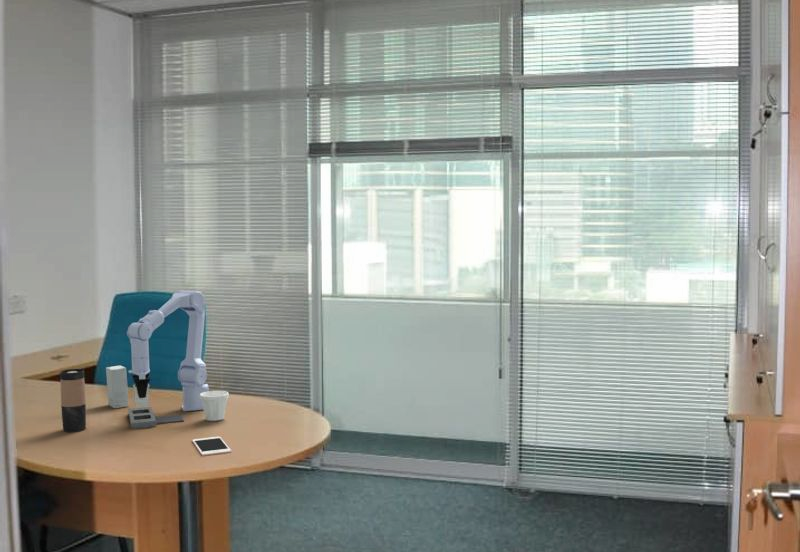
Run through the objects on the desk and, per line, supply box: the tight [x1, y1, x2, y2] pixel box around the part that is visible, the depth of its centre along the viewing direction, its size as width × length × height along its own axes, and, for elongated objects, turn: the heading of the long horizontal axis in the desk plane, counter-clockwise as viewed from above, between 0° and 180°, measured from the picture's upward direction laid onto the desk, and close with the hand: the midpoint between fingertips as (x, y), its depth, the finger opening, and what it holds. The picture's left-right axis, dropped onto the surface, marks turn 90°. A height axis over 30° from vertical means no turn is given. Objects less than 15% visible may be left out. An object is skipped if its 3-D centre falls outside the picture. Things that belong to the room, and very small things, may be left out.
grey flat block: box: [127, 406, 157, 430], centre depth 290 cm, size 8×22×2 cm, turn 21°
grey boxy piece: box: [132, 382, 151, 408], centre depth 286 cm, size 5×5×7 cm
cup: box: [200, 390, 230, 422], centre depth 290 cm, size 10×10×9 cm
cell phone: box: [191, 436, 232, 457], centre depth 257 cm, size 9×18×1 cm, turn 24°
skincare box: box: [105, 365, 130, 409], centre depth 313 cm, size 8×6×15 cm
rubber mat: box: [155, 414, 184, 425], centre depth 291 cm, size 9×9×1 cm
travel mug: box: [59, 368, 87, 433], centre depth 278 cm, size 8×8×20 cm
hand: (141, 396), depth 286 cm, fingers closed on grey boxy piece, 5 cm apart
